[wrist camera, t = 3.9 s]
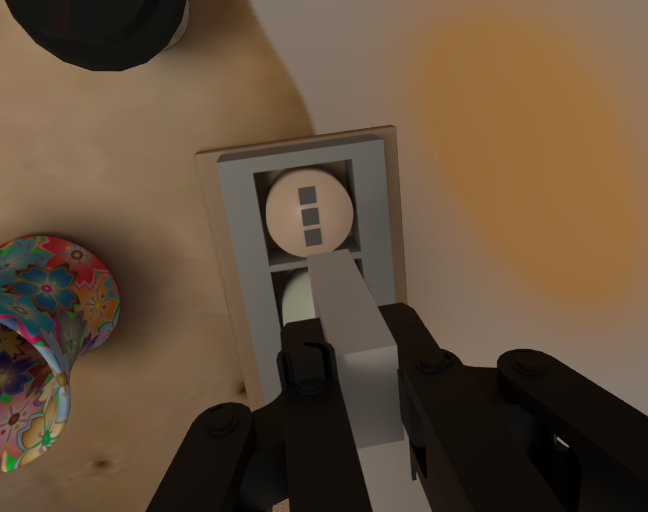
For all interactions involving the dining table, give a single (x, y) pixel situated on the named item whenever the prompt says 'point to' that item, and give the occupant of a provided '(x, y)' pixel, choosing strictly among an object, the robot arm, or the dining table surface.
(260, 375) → the console
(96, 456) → the dining table surface
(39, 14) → the coffee cup
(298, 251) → the button
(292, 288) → the button
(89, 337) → the mug
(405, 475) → the cup
